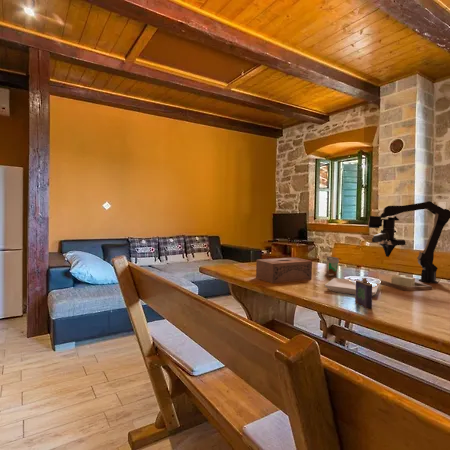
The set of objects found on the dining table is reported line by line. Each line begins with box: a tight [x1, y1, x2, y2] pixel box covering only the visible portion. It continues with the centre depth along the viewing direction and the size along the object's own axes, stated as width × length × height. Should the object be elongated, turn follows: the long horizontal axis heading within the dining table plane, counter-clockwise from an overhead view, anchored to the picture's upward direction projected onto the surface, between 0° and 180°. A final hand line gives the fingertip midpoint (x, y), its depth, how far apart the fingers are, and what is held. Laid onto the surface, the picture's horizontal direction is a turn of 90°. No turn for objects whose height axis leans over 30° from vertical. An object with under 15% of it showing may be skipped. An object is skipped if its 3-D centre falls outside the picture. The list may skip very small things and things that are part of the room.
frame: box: [380, 280, 433, 292], centre depth 158 cm, size 16×16×2 cm
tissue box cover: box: [255, 257, 313, 284], centre depth 170 cm, size 26×14×10 cm, turn 118°
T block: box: [390, 274, 416, 287], centre depth 160 cm, size 10×8×4 cm
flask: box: [354, 277, 373, 310], centre depth 122 cm, size 9×3×11 cm, turn 8°
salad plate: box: [324, 277, 381, 297], centre depth 147 cm, size 21×21×3 cm
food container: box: [325, 256, 340, 278], centre depth 182 cm, size 12×6×10 cm, turn 168°
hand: (387, 256), depth 177 cm, fingers closed
